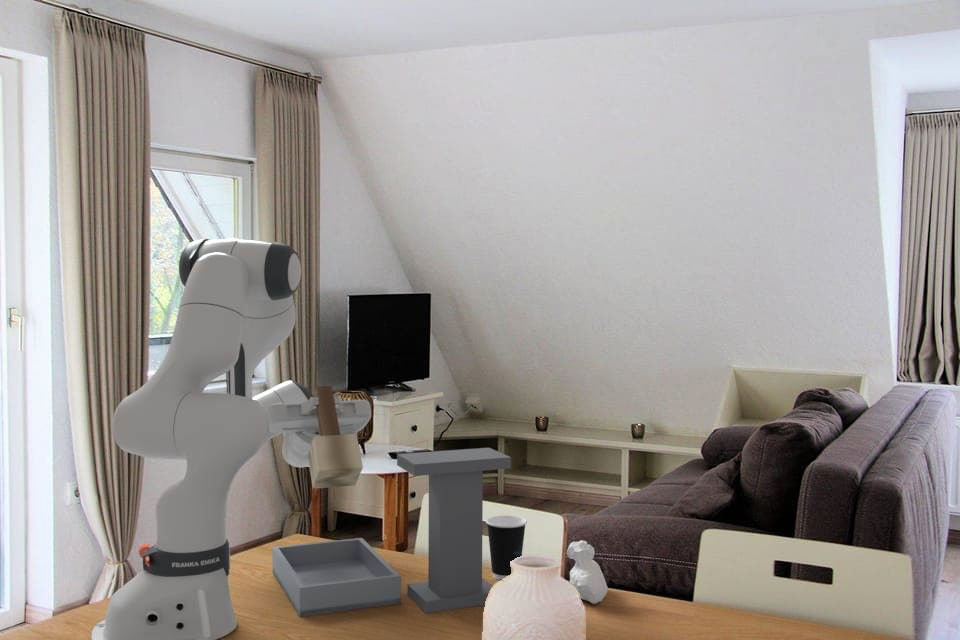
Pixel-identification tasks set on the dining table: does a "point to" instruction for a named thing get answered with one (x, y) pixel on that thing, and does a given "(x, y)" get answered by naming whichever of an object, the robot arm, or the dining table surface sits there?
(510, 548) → the dixie cup
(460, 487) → the stand
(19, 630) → the dining table surface
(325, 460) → the mallet
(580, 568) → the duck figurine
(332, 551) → the tray
